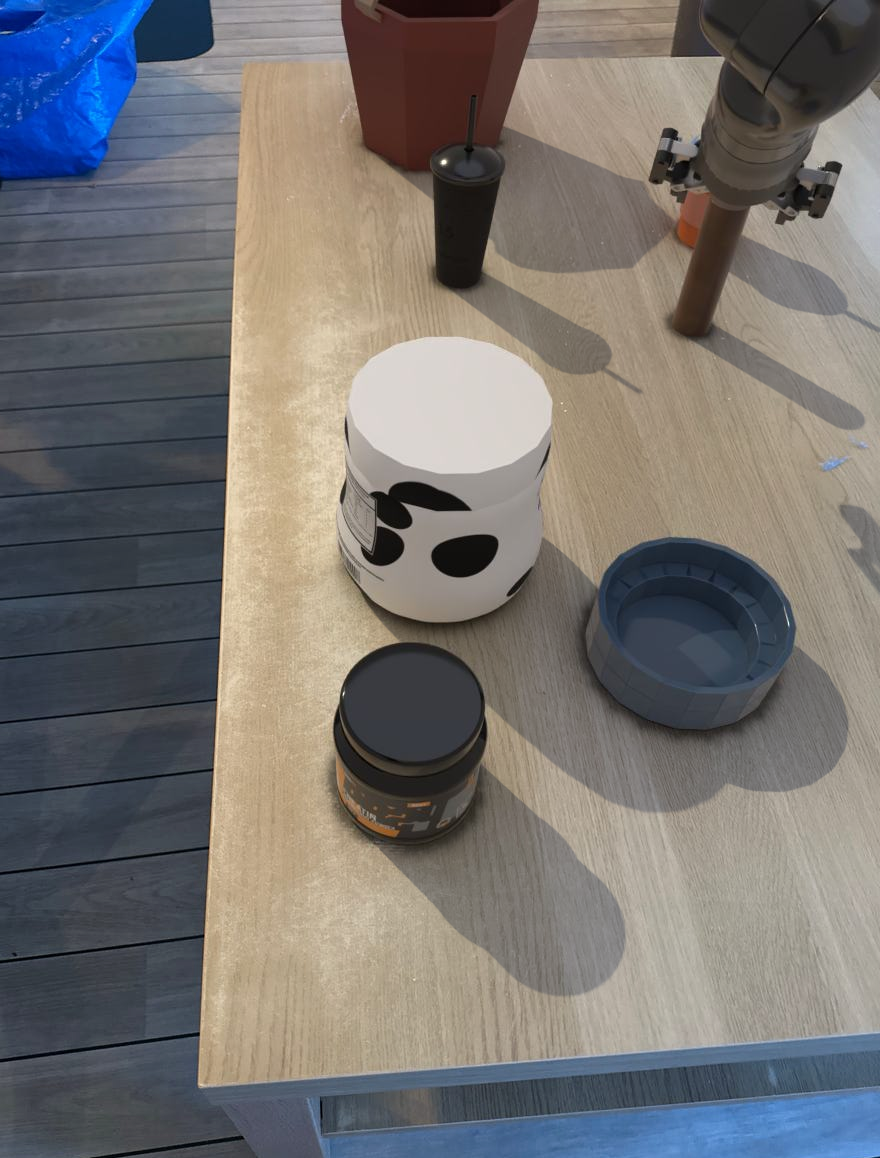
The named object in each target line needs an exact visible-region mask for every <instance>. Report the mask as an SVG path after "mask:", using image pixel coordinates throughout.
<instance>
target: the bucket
mask: <svg viewBox="0 0 880 1158" xmlns="http://www.w3.org/2000/svg"><path fill="white" fill-rule="evenodd" d="M539 6H540V0H340V21H341V26H342V31H343V37H344V42H345V48H346V53H347V58H348V59H347V60H348V63H349V69H350V74H351V75H350V76H351V78H352V79H351V80H352V83H353V84H352V85H353V90H354V95H355V100H356V105H357V106H356V107H357V112H358V115H359V116H358V117H359V122H360V128H361V132H362V138H363V144H364V147H366V148H367V149H369V150H371V151H372V152H374V153H376V154H378V155H380V156H381V157H382V158H385V159H386V160H388V161H390V162H392V163H393V164H395V165H396V166H399V167H400V168H402V169H404V170H405V171H408V172H409V171H432V170H431V167H430V158H431V155H432V153H433V152H434V151H435V150H436V149H437V148H439V147H441V146H443V145H445V144H449V143H453V142H466V141H467V129H468V118H469V106H470V96H471V95H472V94H475V95H477V107H476V117H475V128H474V139H473V142H476V143H481V144H484V145H487V146H490V147H492V148H494V147H495V146H497V144H498V143H499V140H500V137H501V134H502V130H503V128H504V127H503V126H504V124H505V121H506V117H507V114H508V111H509V109H510V105H511V102H512V98H513V95H514V92H515V89H516V86H517V82H518V79H519V76H520V73H521V70H522V67H523V63H524V60H525V57H526V54H527V51H528V48H529V45H530V41H531V38H532V36H533V31H534V29H535V26H536V22H537V18H538V15H539V14H538V13H539Z"/></svg>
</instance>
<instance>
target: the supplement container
mask: <svg viewBox="0 0 880 1158" xmlns="http://www.w3.org/2000/svg"><path fill="white" fill-rule="evenodd" d="M338 700H339V701H338V704H337V706H336V709H335V712H334V715H333V721H332V739H333V740H332V741H333V745H334V749H335V750H334V751H335V787H336V792H337V796H338V798H339V802H340V803H341V806H342V808H343V809H344V811H345V813H346V814H347V816H348V817H349V818H350V819H351V820H352V822H353V823H355V825H356V826H357V827H359V828H360V829H361V830H362V831H364V832H365V833H367V834H369V835H370V836H372V837H374V838H376V839H379V840H382V841H384V842H387V843H392V844H397V845H417V844H418V845H419V844H422V843H423V844H424V843H427V842H431V841H433V840H437V839H439V838H441V837H443V836H444V835H446V834H447V833H449V832H451V831H453V829H454V828H456V827H457V826H458V825H459V824H460V823H461V822H462V821H463V819H465V817H466V816H467V814H468V812H469V811H470V809H471V807H472V805H473V803H474V800H475V797H476V793H477V788H478V778H479V774H480V770H481V769H480V768H481V765H482V764H481V763H482V760H483V758H484V755H485V752H486V750H487V749H486V748H487V744H488V737H489V736H488V735H489V734H488V733H489V732H488V721H487V716H486V698H485V694H484V690H483V687H482V683H481V682H480V680H479V678H478V677H477V674H476V673H475V672H474V671H473V670H472V668H471V667H470V666H469V665H468V664H467V663H466V662H465V661H464V660H463V659H462V658H461V657H459V656H458V655H456V654H454V653H453V652H451V651H450V650H448V649H446V648H442V647H441V646H437V645H434V644H432V643H431V644H430V643H427V642H418V641H402V642H395V643H391V644H387V645H383V646H381V647H378V648H376V649H373V650H372V651H370V652H369V653H367V654H365V655H364V656H363V657H362V658H360V659H359V660H358V661H357V662H356V663H355V664H354V665H353V666H352V667H351V668H350V670H349V671H348V673H347V675H346V676H345V678H344V680H343V682H342V685H341V688H340V693H339V699H338Z"/></svg>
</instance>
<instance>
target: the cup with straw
mask: <svg viewBox="0 0 880 1158" xmlns="http://www.w3.org/2000/svg"><path fill="white" fill-rule="evenodd" d="M699 139H701V133H700V134H698V135H697V136H695V137H694V138H693V139H692V140H691V141H690V142H689V144H693V145H694V144H695V143H696V141H698V140H699ZM710 194H711V193H710V192H709V193H703V194H695V193H693V192H691V191H689V190H688V192H687V196H686V199H685V202H684V204H682V203H680V207H679V214H680V216H679V221H678V228H677V236H678V238H679V239H680V241H682V243H683V244H684V245H686V246H688V247H690V248H693V249H694V247H695V243H696V240H697V237H698V233H699V230H700V227H701V223H702V220H703V217H704V214H705V210H706V207H707V204H708V200H709V197H710Z"/></svg>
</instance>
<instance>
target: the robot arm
mask: <svg viewBox="0 0 880 1158" xmlns="http://www.w3.org/2000/svg"><path fill="white" fill-rule="evenodd" d="M698 10H699V11H698V15H699V16H698V18H699V27H700V30H701V33H702V34H703V36H704V37H705V39H706V41H707V42H708V44H710V45H711V46H712V48H714V50H715V51H716V52H718V53H719V55H721V56H722V57H723V58H724V61H723V62H722V64H721V67H720V69H719V73H718V77H717V80H716V86H715V89H714V94H713V96H712V98H711V100H710V101H709V104H708V107H707V110H706V112H705V113H706V114H705V118H704V121H703V122H702V124H701V131H700V134H701V139H699V140H698V141H696V143H695V144H694V145H693V144H690V143H688V142H684V141H683V138H682V136H678V135H679V131H678V130H677V129H675V128H674V127H664V128H663V129H662V132H661V136H660V138H659V143H658V146H657V148H656V152H655V155H654V158H653V161H652V166H651V170H650V173H649V175H648V176H649V177H648V179H647V180H648V182H649V183H651V184H652V185H654V186H655V185H656V186H657V185H663V184H664V181H665V182H667V183H669V189H670V191H669V194H670V195H671V197H676V201H675V203H678V204H681V203H682V204H684V202H685V199H686V196H687V192H688V190H689V191H691V192H693V193H695V194H703V193H709V192H710V193H711V194H712V195H714V196H715V197H716V198H718V199H719V200H721V201H723V202H725V203H727V204H730V205H734V206H742V207H746V206H751V207H755V206H758V205H762V206H764V208H766V209H768V211H777V215H776V218H775V221H774V224H775V225H780V226H784V225H785V223H786V221H789V222H793V221H795V219H796V218H797V217H798V216H800V214H801V212H807V216H808V217H810V218H811V219H814V220H819V219H823V218H824V216H825V214H826V212H827V210H828V207H829V205H830V203H831V201H832V199H833V197H834V193H835V190H836V187H837V183H838V180H839V177H840V174H841V172H842V168H843V164H842V163H841V162H839V161H836V160H829V161H826V162H825V164H824V166H823V165H819V166H817V169H814V168H809V167H805V162H804V161H806V159H807V158H808V156H809V155H810V153H811V151H812V147H813V144H814V141H815V140H816V138H817V137H816V136H817V134H818V131H819V128H820V125H821V124H823V123H825V122H826V121H828V120H830V119H831V118H833V117H835V116H836V115H838V114H839V113H841V112H842V111H844V110H845V109H847V108H848V107H849V106H851V105H852V104H853V103H854V102H856V100H858V99H859V98H860V97H861V96H862V95H863V94H865V92H867V91H868V89H870V87H871V86H872V85H873V84H874V83H875V82H876V81H877V80H878V78H879V77H880V0H700V5H699V9H698Z"/></svg>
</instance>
